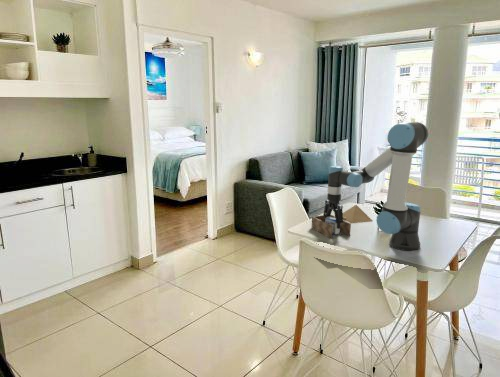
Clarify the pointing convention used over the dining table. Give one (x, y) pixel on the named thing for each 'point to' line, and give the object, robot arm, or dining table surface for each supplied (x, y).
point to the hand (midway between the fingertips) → (332, 231)
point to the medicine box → (331, 223)
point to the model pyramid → (355, 215)
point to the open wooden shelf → (328, 226)
